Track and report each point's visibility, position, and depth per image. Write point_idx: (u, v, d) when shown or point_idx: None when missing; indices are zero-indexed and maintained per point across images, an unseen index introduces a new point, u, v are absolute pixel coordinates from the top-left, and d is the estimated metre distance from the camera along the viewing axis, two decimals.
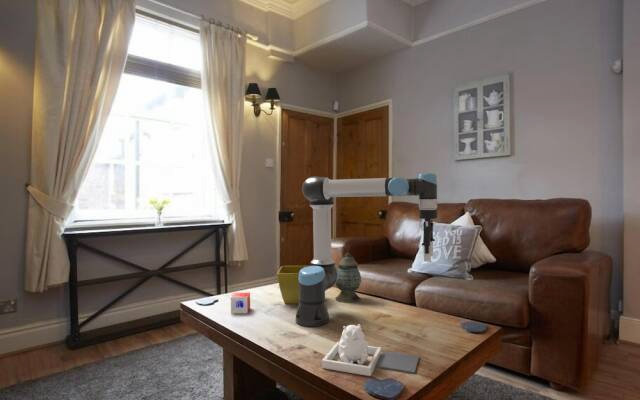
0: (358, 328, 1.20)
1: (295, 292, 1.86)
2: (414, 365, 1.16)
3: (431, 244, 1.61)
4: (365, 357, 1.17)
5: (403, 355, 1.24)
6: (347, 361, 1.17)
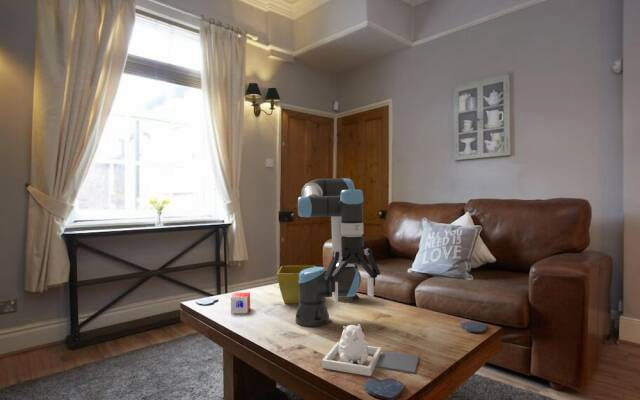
0: (358, 328, 1.20)
1: (295, 292, 1.86)
2: (414, 365, 1.16)
3: (370, 281, 1.23)
4: (365, 357, 1.17)
5: (403, 355, 1.24)
6: (347, 361, 1.17)
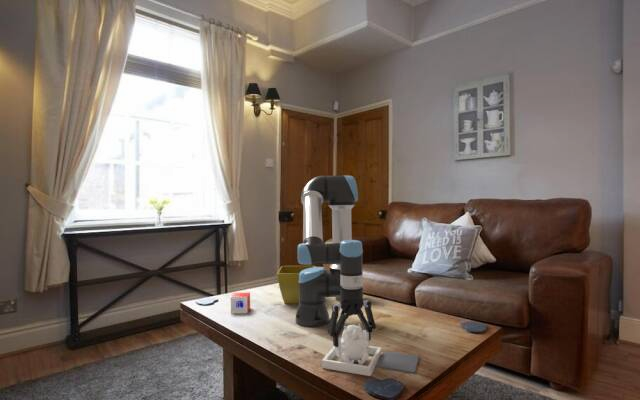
0: (359, 328, 1.20)
1: (295, 292, 1.86)
2: (414, 365, 1.16)
3: (365, 335, 1.23)
4: (366, 357, 1.18)
5: (403, 355, 1.24)
6: (348, 361, 1.17)
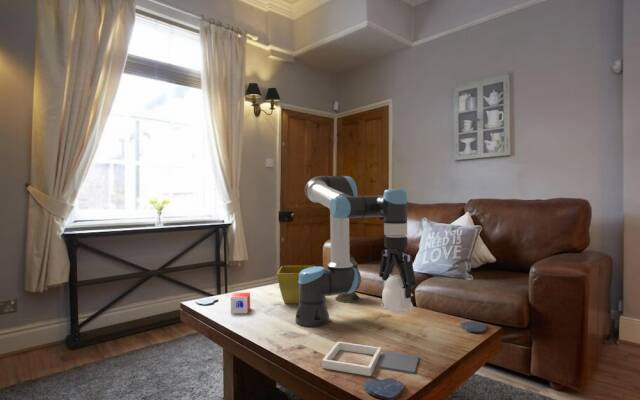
0: (398, 275, 1.22)
1: (295, 292, 1.86)
2: (414, 365, 1.16)
3: None
4: None
5: (403, 355, 1.24)
6: None
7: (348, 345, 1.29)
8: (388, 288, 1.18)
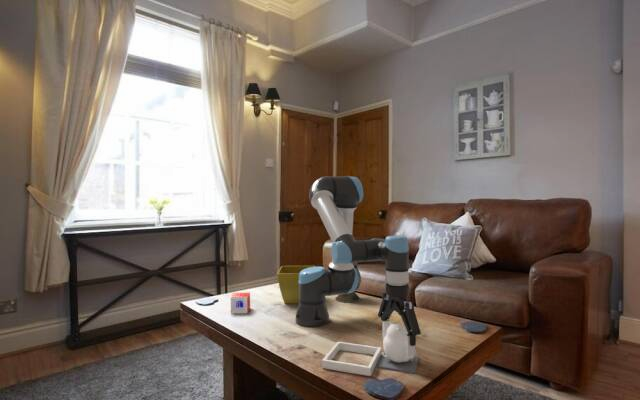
0: (399, 323, 1.22)
1: (295, 292, 1.86)
2: (414, 365, 1.16)
3: (388, 324, 1.26)
4: None
5: None
6: None
7: (348, 345, 1.29)
8: (389, 338, 1.18)
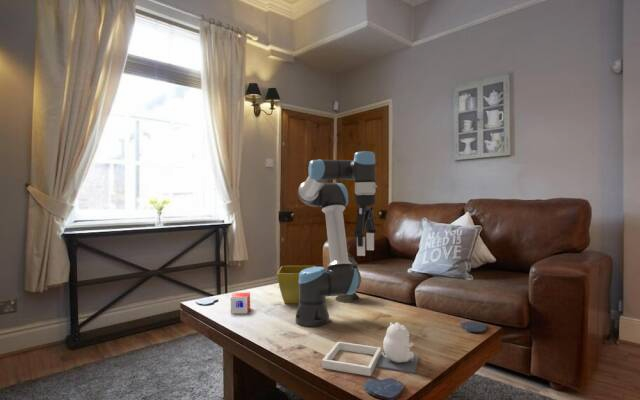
0: (399, 323, 1.22)
1: (295, 292, 1.86)
2: (414, 365, 1.16)
3: (371, 236, 1.37)
4: None
5: None
6: None
7: (348, 345, 1.29)
8: (389, 338, 1.18)
